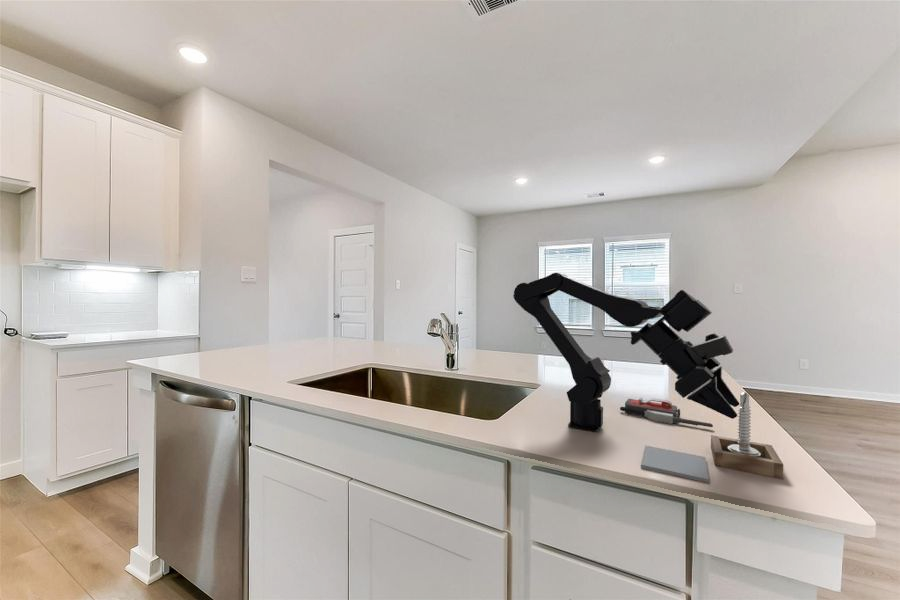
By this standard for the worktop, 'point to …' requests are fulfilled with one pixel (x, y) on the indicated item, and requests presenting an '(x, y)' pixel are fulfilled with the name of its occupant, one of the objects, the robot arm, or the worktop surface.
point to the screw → (744, 429)
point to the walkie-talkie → (658, 411)
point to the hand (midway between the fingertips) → (736, 411)
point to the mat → (675, 463)
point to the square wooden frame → (747, 458)
